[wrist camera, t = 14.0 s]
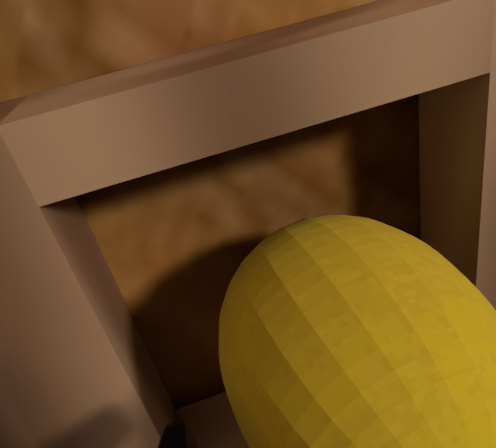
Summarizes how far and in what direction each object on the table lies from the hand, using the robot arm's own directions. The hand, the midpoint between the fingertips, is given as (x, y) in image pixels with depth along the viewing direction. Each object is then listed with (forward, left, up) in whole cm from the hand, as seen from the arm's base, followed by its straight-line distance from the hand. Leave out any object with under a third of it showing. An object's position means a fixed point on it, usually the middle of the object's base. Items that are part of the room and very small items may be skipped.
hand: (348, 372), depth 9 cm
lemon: (0, 0, -5) cm, 5 cm away
